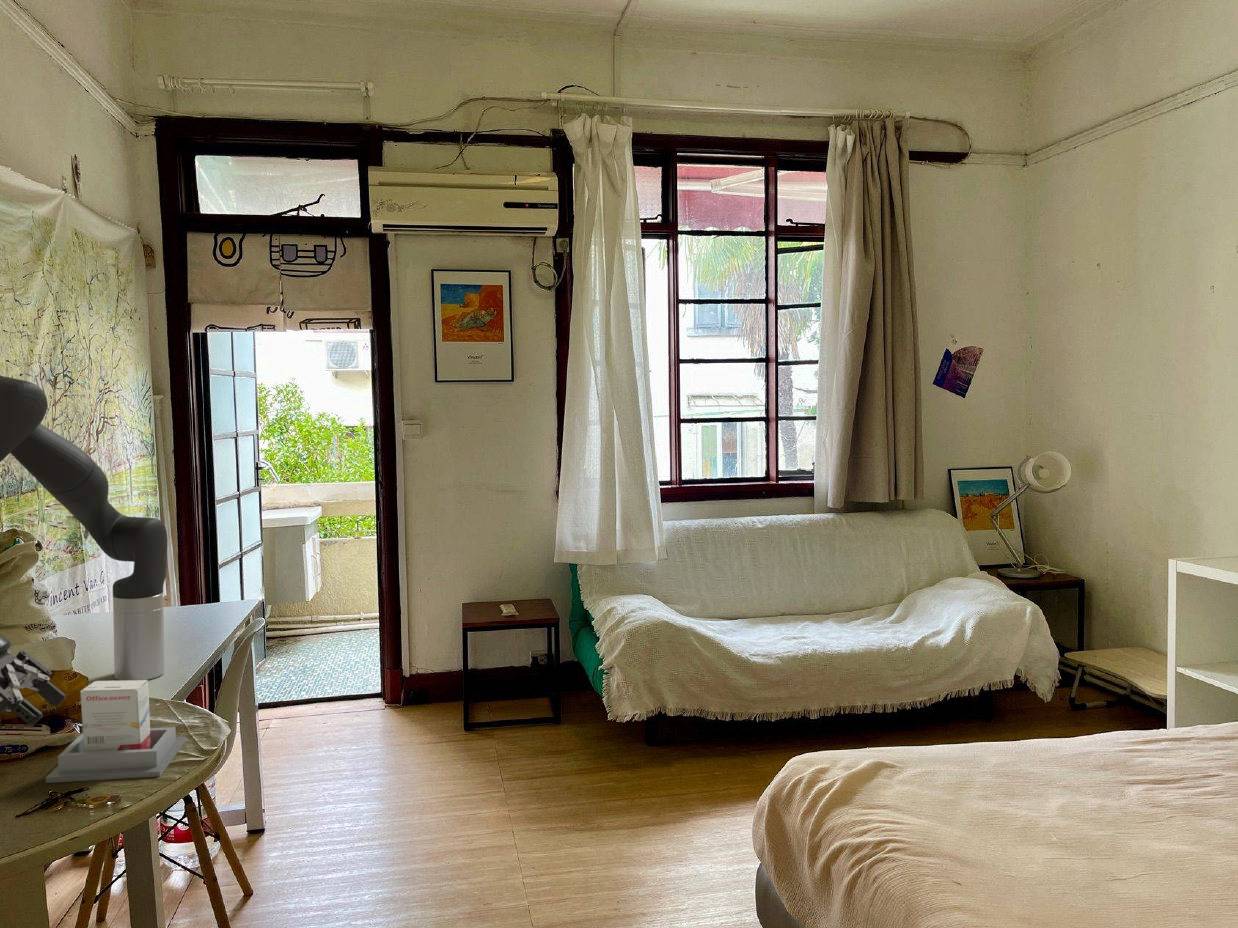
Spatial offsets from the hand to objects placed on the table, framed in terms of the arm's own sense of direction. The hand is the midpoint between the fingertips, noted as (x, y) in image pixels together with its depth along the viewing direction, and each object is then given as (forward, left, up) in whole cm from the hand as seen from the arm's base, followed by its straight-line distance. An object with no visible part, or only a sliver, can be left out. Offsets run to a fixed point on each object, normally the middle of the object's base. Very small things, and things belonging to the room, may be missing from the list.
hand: (50, 710), depth 139 cm
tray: (0, +10, -9) cm, 13 cm away
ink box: (0, +10, -8) cm, 13 cm away
